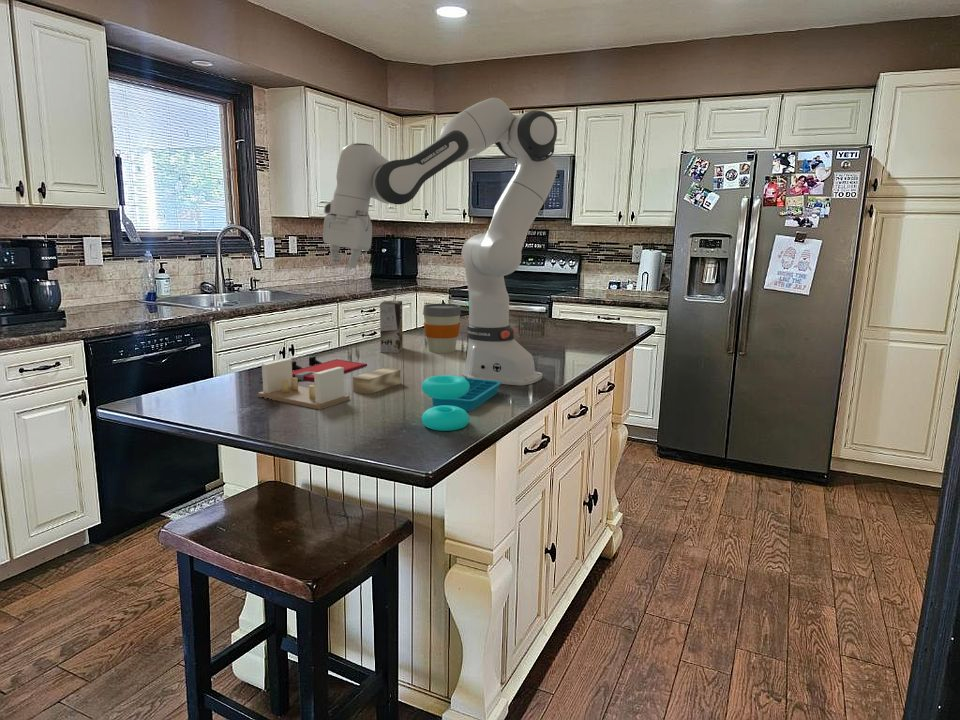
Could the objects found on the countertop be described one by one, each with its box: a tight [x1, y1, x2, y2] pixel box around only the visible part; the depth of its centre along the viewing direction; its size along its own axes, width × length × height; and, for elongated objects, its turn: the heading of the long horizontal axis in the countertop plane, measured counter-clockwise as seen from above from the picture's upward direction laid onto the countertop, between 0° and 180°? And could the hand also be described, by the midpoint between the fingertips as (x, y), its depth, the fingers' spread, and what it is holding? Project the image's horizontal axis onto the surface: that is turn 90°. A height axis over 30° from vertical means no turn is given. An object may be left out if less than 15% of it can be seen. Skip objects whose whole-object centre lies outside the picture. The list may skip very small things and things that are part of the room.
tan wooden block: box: [352, 367, 401, 395], centre depth 165 cm, size 13×5×4 cm, turn 150°
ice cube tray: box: [428, 377, 503, 412], centre depth 155 cm, size 12×20×3 cm, turn 158°
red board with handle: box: [260, 356, 368, 382], centre depth 179 cm, size 30×3×15 cm
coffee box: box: [379, 300, 403, 354], centre depth 211 cm, size 9×6×16 cm
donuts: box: [421, 374, 470, 432], centre depth 134 cm, size 10×10×10 cm
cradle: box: [257, 357, 350, 411], centre depth 153 cm, size 20×10×8 cm, turn 60°
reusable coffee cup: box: [422, 303, 462, 354], centre depth 212 cm, size 13×13×15 cm
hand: (342, 265), depth 161 cm, fingers open, 8 cm apart
